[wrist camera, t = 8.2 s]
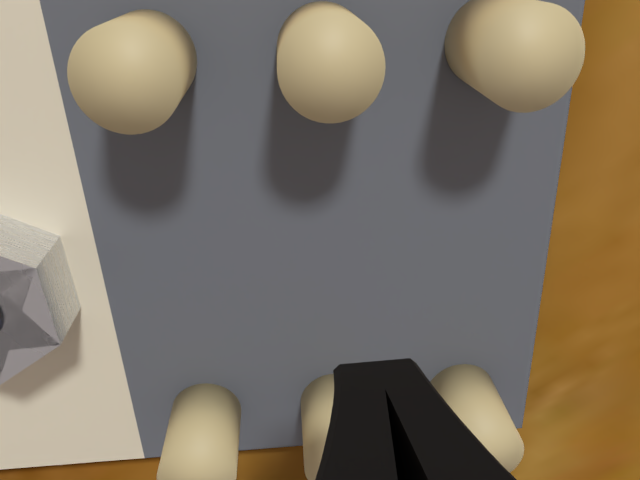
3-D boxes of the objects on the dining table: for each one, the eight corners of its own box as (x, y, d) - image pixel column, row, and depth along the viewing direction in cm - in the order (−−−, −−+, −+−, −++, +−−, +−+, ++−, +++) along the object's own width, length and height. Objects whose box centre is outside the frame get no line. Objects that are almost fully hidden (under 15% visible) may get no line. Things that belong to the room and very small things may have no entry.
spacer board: (511, 409, 23) (555, 493, 20) (-39, 452, 22) (-100, 549, 19) (573, -46, 16) (659, -45, 12) (-231, -10, 15) (-388, 1, 12)
